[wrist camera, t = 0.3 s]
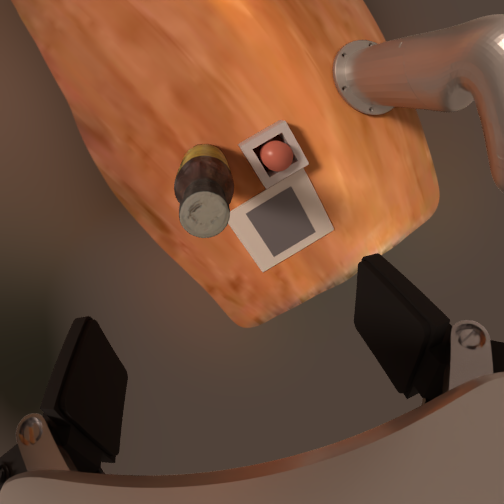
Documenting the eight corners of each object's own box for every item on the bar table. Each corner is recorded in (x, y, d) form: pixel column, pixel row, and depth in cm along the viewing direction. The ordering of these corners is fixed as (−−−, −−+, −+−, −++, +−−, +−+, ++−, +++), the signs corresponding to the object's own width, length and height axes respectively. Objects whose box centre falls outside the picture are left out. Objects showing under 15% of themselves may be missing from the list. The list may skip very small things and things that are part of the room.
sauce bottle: (178, 149, 37) (151, 180, 20) (221, 138, 38) (232, 159, 20) (189, 191, 40) (175, 256, 23) (230, 181, 41) (249, 238, 23)
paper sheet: (302, 167, 41) (303, 168, 41) (333, 228, 47) (334, 229, 46) (223, 215, 43) (223, 216, 43) (262, 271, 49) (262, 272, 48)
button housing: (279, 120, 37) (285, 120, 35) (302, 160, 41) (309, 164, 38) (237, 144, 38) (240, 146, 36) (262, 184, 42) (266, 189, 39)
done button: (278, 134, 37) (283, 136, 34) (292, 158, 39) (298, 162, 36) (253, 148, 38) (257, 151, 35) (268, 172, 39) (272, 177, 37)
